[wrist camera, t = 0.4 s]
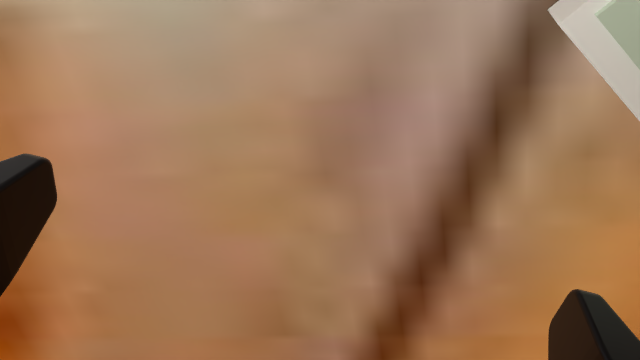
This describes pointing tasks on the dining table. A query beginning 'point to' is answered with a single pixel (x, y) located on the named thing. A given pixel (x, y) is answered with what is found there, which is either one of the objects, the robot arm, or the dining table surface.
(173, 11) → the dining table surface
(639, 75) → the box
